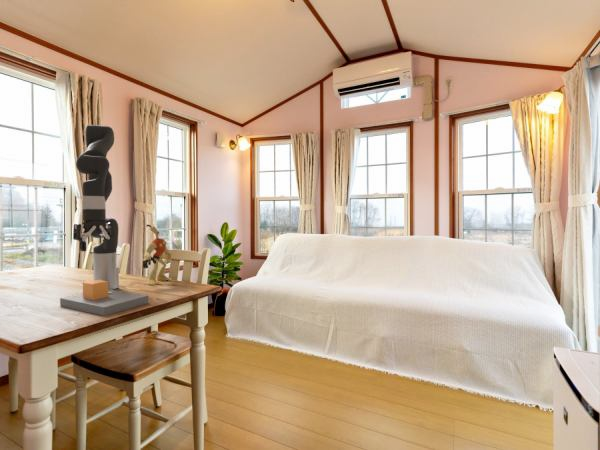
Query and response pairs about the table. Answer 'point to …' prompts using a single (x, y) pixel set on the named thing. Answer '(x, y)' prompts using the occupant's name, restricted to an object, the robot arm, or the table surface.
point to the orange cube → (95, 289)
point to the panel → (105, 302)
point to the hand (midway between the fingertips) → (94, 250)
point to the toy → (156, 258)
